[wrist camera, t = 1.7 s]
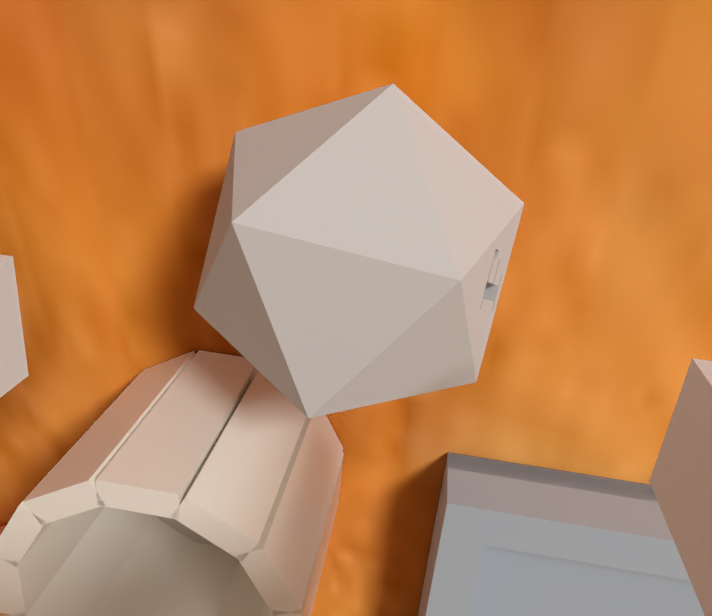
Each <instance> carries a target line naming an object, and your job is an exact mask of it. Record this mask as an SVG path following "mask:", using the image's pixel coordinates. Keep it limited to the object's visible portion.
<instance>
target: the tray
mask: <svg viewBox="0 0 712 616" xmlns="http://www.w3.org/2000/svg"><path fill="white" fill-rule="evenodd" d="M418 616H705V615H704V613H703V610H702V608H701V605H700V603H699V600H698V598H697V596H696V593H695V591H694V588H693V586H692V583H691V581H690V579H689V576H688V574H687V571H686V569H685V566H684V564H683V562H682V559H681V557H680V554H679V552H678V550H677V547H676V545H675V542H674V540H673V537H672V535H671V533H670V530H669V528H668V525H667V523H666V520H665V518H664V516H663V513H662V511H661V508H660V506H659V503H658V501H657V499H656V496H655V494H654V491H653V489H652V486H651V485H647V484H641V483H635V482H628V481H622V480H616V479H610V478H604V477H597V476H591V475H585V474H579V473H572V472H566V471H560V470H554V469H548V468H541V467H535V466H529V465H523V464H517V463H510V462H504V461H498V460H492V459H486V458H479V457H473V456H467V455H461V454H454V453H448V454H447V460H446V465H445V471H444V476H443V481H442V487H441V492H440V498H439V503H438V508H437V514H436V519H435V524H434V530H433V535H432V541H431V546H430V551H429V557H428V562H427V568H426V573H425V578H424V584H423V589H422V595H421V600H420V605H419V611H418Z"/></svg>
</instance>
